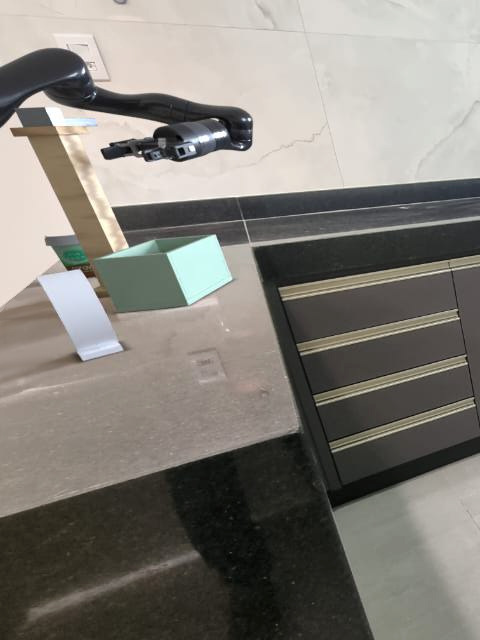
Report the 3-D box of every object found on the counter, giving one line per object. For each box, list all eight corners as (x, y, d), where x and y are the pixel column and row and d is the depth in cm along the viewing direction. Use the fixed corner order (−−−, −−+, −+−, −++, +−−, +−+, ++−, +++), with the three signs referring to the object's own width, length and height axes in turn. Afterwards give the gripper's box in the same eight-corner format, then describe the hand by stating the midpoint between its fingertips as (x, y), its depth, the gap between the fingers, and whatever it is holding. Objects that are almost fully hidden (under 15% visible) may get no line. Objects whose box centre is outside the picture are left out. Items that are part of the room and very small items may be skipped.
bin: (188, 305, 100) (166, 253, 96) (117, 312, 98) (91, 259, 94) (232, 279, 117) (215, 234, 112) (173, 285, 114) (153, 239, 110)
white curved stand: (117, 343, 83) (79, 269, 78) (125, 352, 80) (87, 274, 75) (77, 353, 80) (35, 276, 75) (83, 362, 76) (40, 282, 71)
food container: (55, 283, 121) (32, 239, 117) (64, 277, 126) (42, 235, 121) (125, 273, 127) (105, 231, 122) (131, 268, 131) (112, 227, 127)
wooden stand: (113, 286, 116) (37, 127, 102) (160, 282, 117) (91, 125, 104) (84, 298, 108) (-3, 128, 94) (135, 293, 109) (57, 125, 96)
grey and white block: (79, 126, 110) (71, 109, 108) (106, 125, 111) (98, 108, 109) (23, 127, 97) (13, 108, 95) (54, 126, 98) (45, 107, 96)
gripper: (148, 121, 119) (80, 134, 105) (209, 124, 119) (149, 137, 105) (163, 156, 123) (99, 173, 109) (222, 159, 123) (166, 176, 109)
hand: (124, 155), depth 107 cm, fingers open, 8 cm apart
